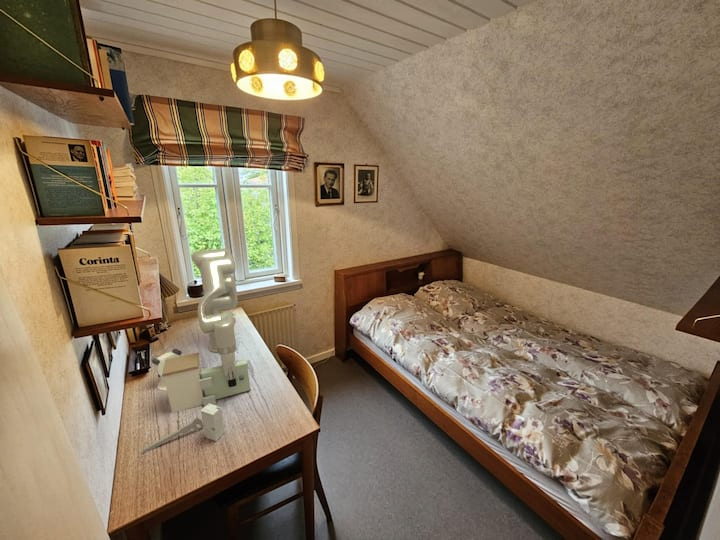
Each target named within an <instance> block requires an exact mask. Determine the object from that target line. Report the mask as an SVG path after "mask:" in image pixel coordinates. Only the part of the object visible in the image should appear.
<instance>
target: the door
mask: <svg viewBox="0 0 720 540" xmlns="http://www.w3.org/2000/svg"><path fill="white" fill-rule="evenodd" d="M235 365H236V373H235V374H234V375H235V378H236V384H237V385H236V386H234V387H229V386H228V376H224V374H223V368H222V365H218V366H213V367H209V368H204V369H201V372H202V379H205V378H209V377H211V378H212V383H213V386H212V387H208V388H204V390H205V396H206V397H207V396H211V395H215V400H218V399H221V398H222V399H223V398H225V397H230V396H233V395H237V394H241V393H245V392H248V391H251V390H252V389H251V383H250V376H249V375H250V374H249V368H248V367H249V366H248V360H247V359H244V360H240V361H237V362H236V361H235ZM231 369H232V367H231ZM232 376H233V374H232Z"/></svg>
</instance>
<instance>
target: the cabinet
mask: <svg viewBox="0 0 720 540" xmlns="http://www.w3.org/2000/svg"><path fill="white" fill-rule="evenodd" d="M162 376H163V377H164V380H165V384H166V389H167V391H166V393H167V397H168V401H169V405H170V409H171V413H172V414H174V413H177V412H180V411H186V410H188V409H193V408H196V407H200V406H203V408H204V407H205V406H207V405H208V404H209V403H210V404H212V405H216V404H217V402H216V400H217V399H215V395H211V396H207V397H206V396H205V390H204V388H208V387H212V386H213V383H212V378H211V377H209V378H205V379H202V367H201V363H200V353H199V352H195V353H190V354H185V355H179V357H175V358H170V359H166V360H165V364H164V368H163V372H162Z"/></svg>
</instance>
